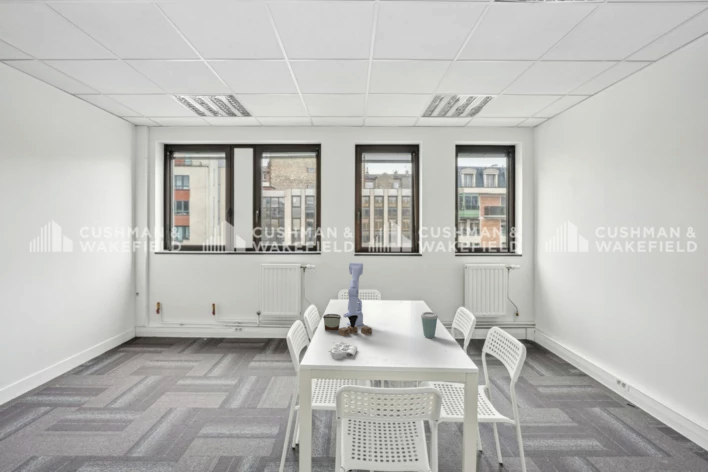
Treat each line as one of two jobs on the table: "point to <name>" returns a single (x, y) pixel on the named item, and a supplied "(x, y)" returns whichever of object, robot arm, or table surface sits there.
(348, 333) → the block two
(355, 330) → the plain block
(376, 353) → the table surface
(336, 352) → the grey egg carton
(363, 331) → the block one
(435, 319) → the disposable coffee cup
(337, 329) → the food container
